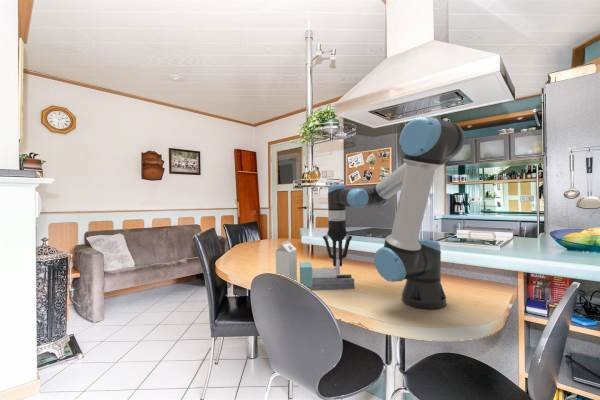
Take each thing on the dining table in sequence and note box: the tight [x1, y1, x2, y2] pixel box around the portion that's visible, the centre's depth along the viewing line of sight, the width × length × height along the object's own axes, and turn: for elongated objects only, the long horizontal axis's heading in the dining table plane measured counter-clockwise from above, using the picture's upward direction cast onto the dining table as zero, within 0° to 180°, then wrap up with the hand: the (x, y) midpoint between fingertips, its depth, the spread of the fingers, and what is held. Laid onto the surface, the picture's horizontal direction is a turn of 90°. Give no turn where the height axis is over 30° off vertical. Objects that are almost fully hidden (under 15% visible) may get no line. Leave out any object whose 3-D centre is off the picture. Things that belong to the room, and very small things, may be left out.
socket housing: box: [299, 261, 313, 287], centre depth 130 cm, size 9×5×8 cm, turn 1°
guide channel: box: [307, 273, 356, 291], centre depth 130 cm, size 9×23×4 cm, turn 91°
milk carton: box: [275, 240, 298, 282], centre depth 137 cm, size 7×7×19 cm
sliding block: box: [312, 266, 337, 284], centre depth 130 cm, size 4×12×6 cm, turn 91°
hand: (337, 273), depth 131 cm, fingers closed
